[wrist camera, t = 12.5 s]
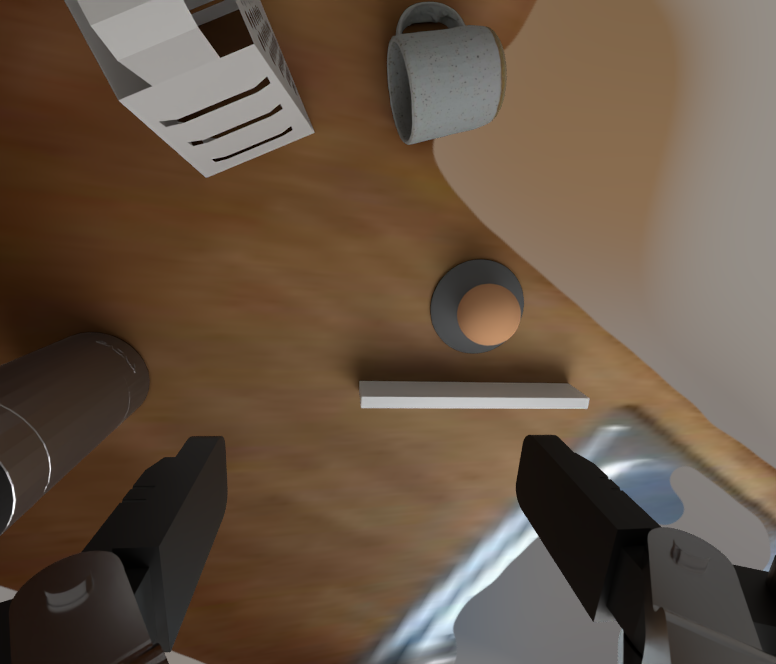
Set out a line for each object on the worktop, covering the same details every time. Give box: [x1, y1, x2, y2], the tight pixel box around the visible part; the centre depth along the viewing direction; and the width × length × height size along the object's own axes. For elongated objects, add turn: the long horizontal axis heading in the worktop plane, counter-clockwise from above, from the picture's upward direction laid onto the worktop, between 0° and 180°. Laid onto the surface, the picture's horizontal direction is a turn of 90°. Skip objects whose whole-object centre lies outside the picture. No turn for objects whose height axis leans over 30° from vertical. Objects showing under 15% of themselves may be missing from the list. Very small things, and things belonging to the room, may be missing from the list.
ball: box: [457, 284, 521, 346], centre depth 38 cm, size 6×6×6 cm
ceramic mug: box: [387, 2, 506, 145], centre depth 32 cm, size 11×8×8 cm
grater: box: [64, 0, 315, 178], centre depth 24 cm, size 10×10×20 cm
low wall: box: [359, 381, 590, 409], centre depth 42 cm, size 24×1×4 cm, turn 86°
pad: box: [431, 259, 524, 353], centre depth 41 cm, size 10×10×1 cm
